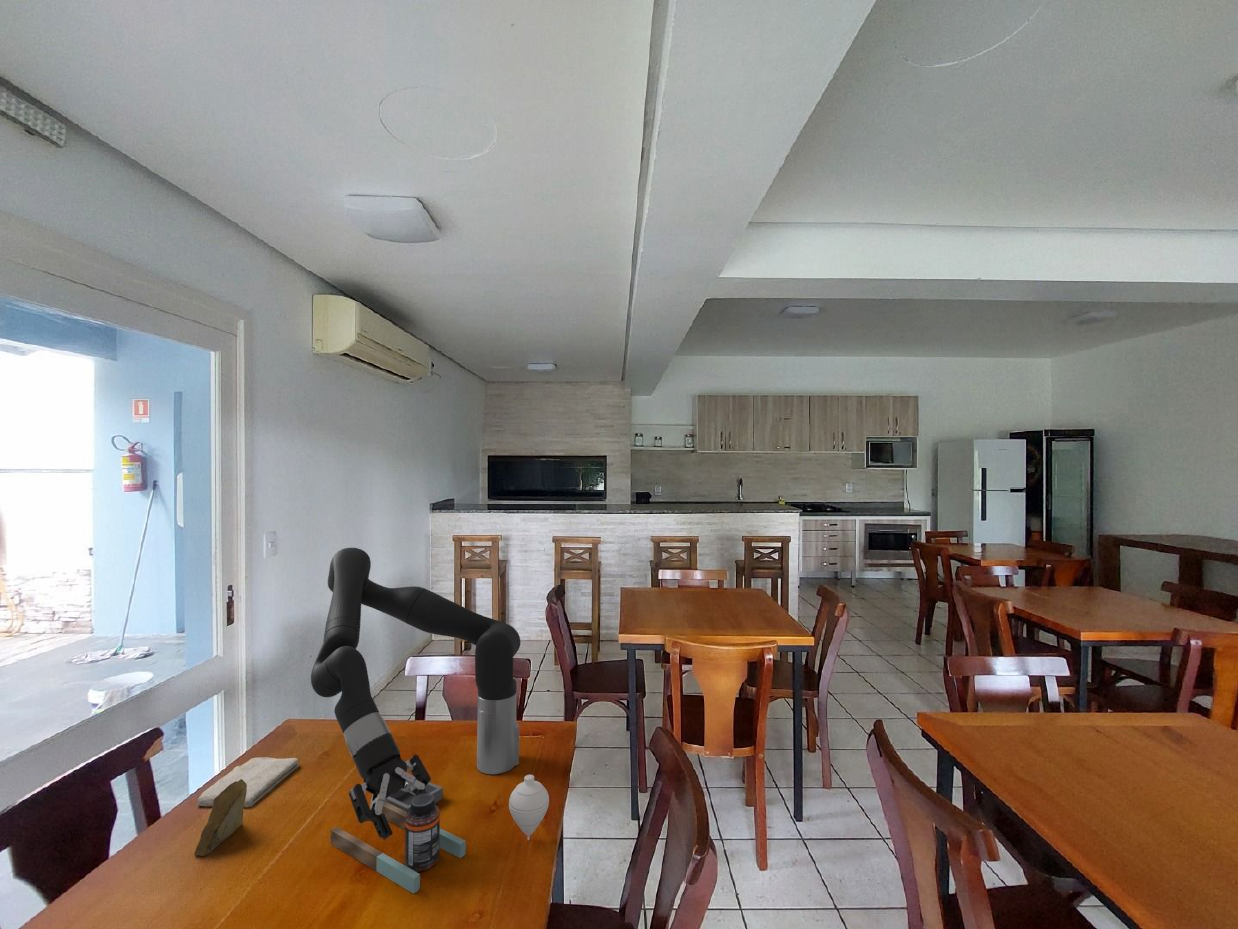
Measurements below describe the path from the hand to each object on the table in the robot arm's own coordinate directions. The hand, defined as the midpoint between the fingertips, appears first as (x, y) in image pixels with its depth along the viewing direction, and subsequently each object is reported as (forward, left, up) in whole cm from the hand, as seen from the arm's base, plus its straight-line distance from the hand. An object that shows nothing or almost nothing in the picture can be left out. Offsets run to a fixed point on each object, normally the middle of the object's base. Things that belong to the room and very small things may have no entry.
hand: (408, 824), depth 101 cm
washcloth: (+24, -44, -7) cm, 51 cm away
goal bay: (-2, +3, -6) cm, 7 cm away
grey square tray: (-5, -17, -6) cm, 19 cm away
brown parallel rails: (+3, -8, -6) cm, 11 cm away
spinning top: (-21, +7, -6) cm, 23 cm away
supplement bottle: (-2, +2, -6) cm, 7 cm away
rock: (+29, -26, -6) cm, 40 cm away
